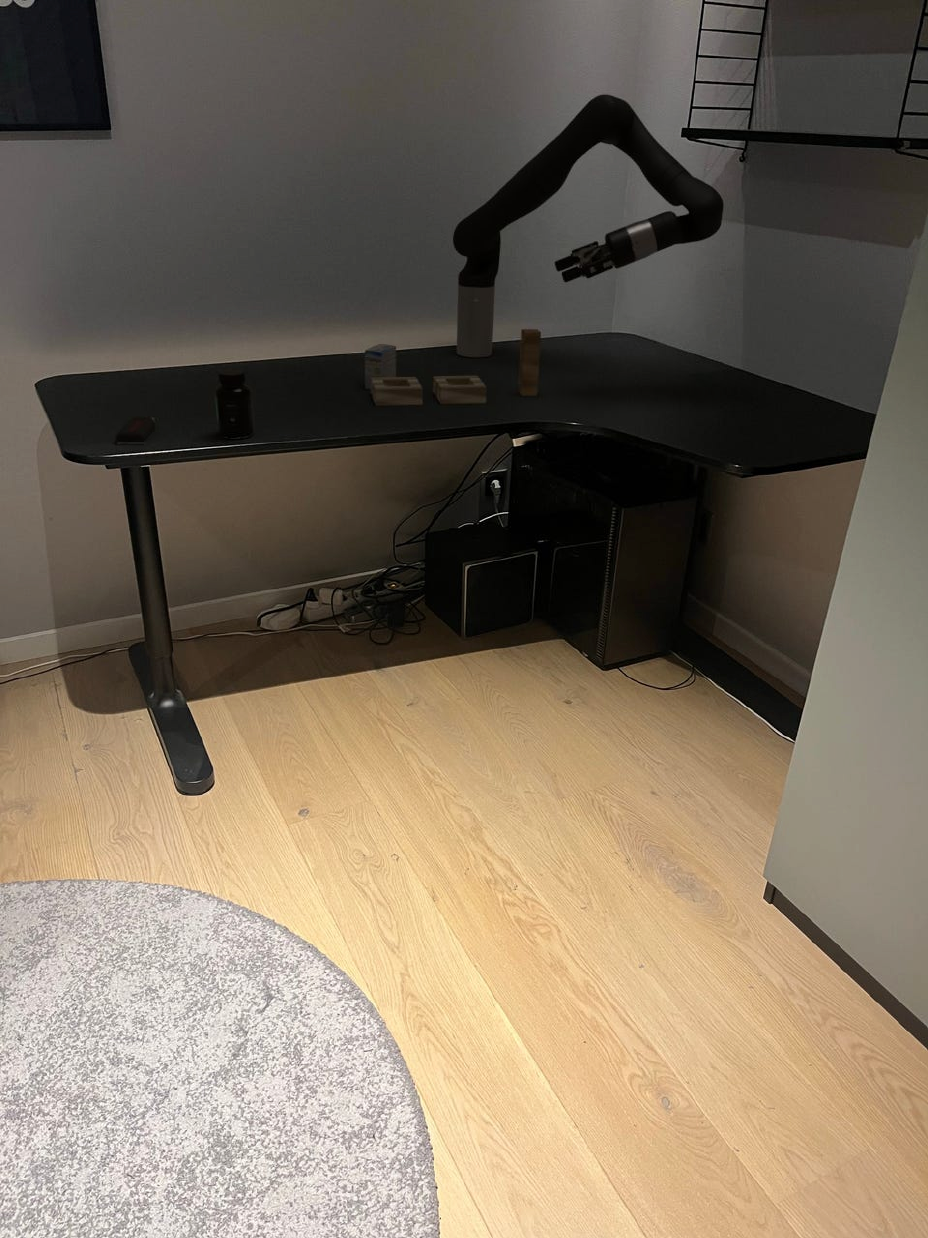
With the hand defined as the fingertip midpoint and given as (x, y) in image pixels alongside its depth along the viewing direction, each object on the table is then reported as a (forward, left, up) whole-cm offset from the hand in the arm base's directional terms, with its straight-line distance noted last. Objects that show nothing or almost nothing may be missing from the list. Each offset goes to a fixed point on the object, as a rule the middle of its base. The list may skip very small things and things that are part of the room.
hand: (559, 272), depth 209 cm
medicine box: (-10, -38, -26) cm, 47 cm away
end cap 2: (+2, -22, -26) cm, 34 cm away
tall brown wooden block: (0, -6, -26) cm, 27 cm away
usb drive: (+23, -88, -27) cm, 95 cm away
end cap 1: (+2, -36, -26) cm, 44 cm away
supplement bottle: (+24, -70, -26) cm, 78 cm away
